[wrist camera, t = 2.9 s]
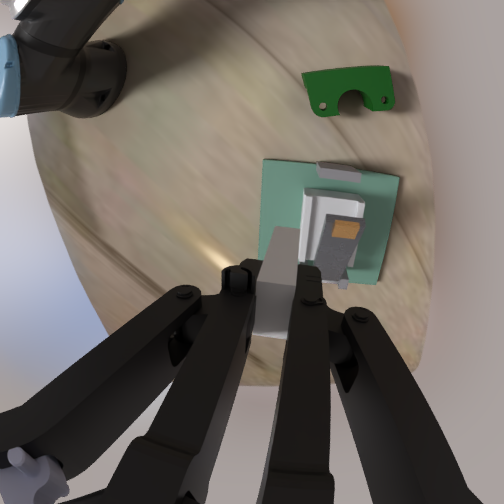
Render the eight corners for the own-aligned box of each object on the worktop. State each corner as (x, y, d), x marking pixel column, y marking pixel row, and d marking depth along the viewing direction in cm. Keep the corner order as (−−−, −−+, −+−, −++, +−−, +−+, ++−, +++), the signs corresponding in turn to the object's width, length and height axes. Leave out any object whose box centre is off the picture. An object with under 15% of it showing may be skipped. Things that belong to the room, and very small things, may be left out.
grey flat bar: (326, 210, 25) (326, 223, 25) (366, 215, 25) (367, 228, 24) (310, 272, 37) (309, 282, 36) (338, 274, 36) (338, 285, 36)
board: (264, 156, 38) (256, 161, 31) (397, 173, 35) (416, 183, 28) (258, 269, 46) (250, 294, 39) (374, 281, 43) (384, 307, 36)
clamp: (320, 106, 37) (301, 119, 31) (311, 70, 33) (290, 76, 28) (396, 103, 31) (395, 116, 25) (389, 65, 27) (388, 67, 21)
